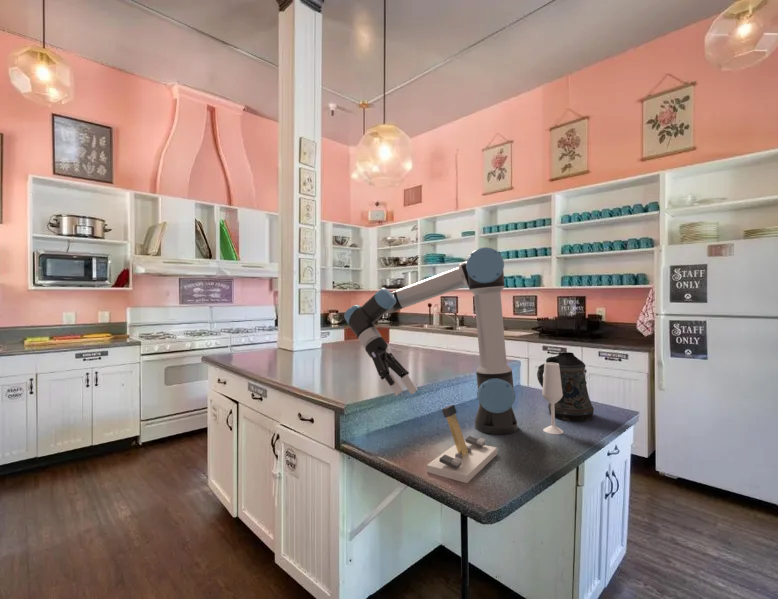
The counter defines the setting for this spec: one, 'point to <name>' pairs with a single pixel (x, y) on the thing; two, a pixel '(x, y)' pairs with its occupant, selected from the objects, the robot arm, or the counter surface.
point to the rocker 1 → (451, 461)
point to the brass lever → (455, 429)
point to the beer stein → (570, 389)
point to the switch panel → (463, 462)
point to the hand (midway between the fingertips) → (407, 392)
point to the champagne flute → (552, 392)
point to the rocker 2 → (476, 441)
